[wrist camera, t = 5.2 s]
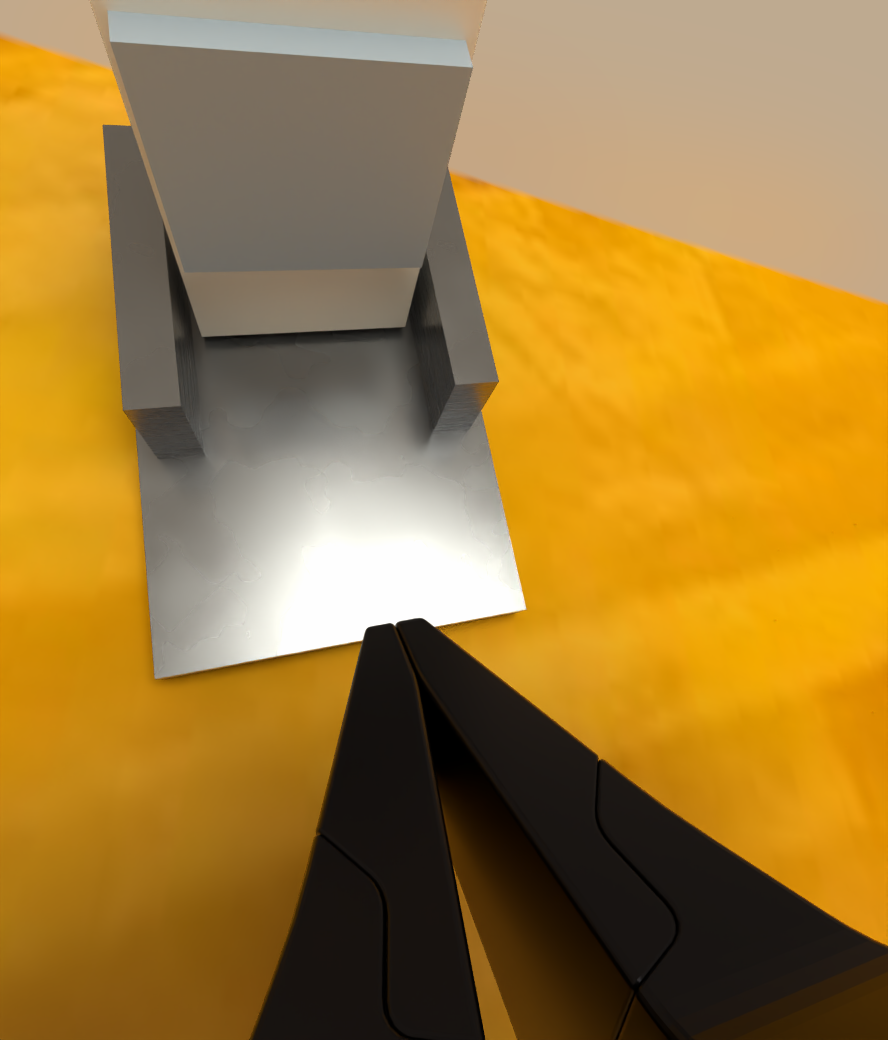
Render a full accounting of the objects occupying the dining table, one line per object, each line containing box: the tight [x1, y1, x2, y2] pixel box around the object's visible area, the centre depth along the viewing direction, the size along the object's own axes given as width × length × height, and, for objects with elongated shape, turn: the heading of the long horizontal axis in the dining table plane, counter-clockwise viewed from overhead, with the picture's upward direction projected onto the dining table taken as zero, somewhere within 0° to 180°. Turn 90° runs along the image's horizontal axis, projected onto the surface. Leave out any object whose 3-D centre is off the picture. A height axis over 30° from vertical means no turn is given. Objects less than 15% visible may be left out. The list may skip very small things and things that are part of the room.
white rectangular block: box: [90, 0, 487, 337], centre depth 12 cm, size 4×6×12 cm
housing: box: [103, 125, 526, 679], centre depth 16 cm, size 14×10×4 cm
